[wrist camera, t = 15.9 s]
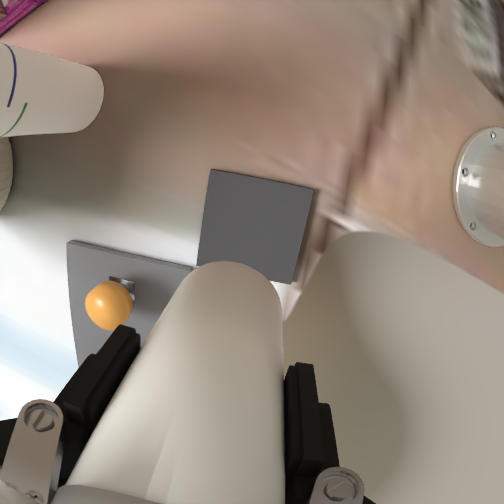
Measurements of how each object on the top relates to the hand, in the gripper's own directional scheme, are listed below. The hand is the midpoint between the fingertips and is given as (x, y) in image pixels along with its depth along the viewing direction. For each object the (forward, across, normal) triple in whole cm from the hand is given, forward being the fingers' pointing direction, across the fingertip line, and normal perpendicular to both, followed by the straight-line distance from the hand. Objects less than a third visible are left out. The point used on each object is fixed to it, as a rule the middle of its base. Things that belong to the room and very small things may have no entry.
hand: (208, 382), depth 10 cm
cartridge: (+5, 0, 0) cm, 5 cm away
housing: (+20, +12, +16) cm, 28 cm away
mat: (+20, 0, 0) cm, 20 cm away
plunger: (+19, +12, +9) cm, 24 cm away
